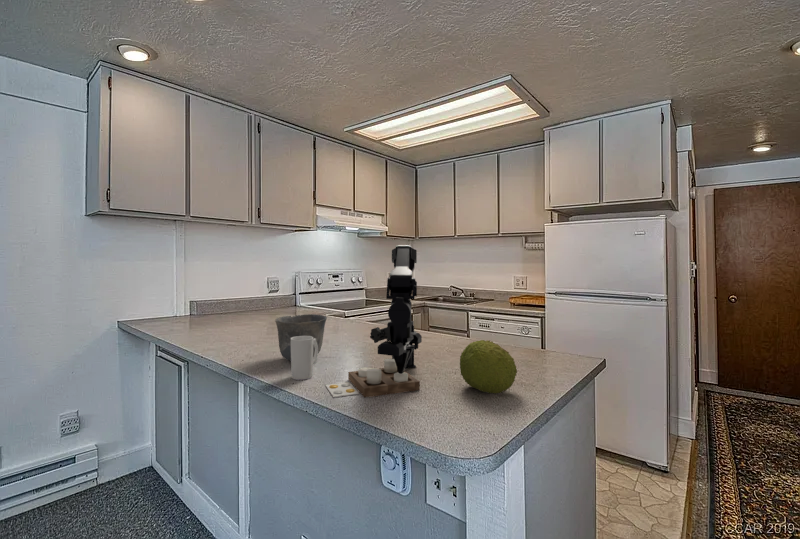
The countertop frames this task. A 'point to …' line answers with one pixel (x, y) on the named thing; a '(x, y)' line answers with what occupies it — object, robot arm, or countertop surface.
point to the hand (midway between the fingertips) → (400, 373)
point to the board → (383, 384)
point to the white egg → (362, 372)
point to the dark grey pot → (299, 331)
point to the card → (342, 389)
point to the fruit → (487, 367)
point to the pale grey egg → (390, 366)
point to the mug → (303, 357)
